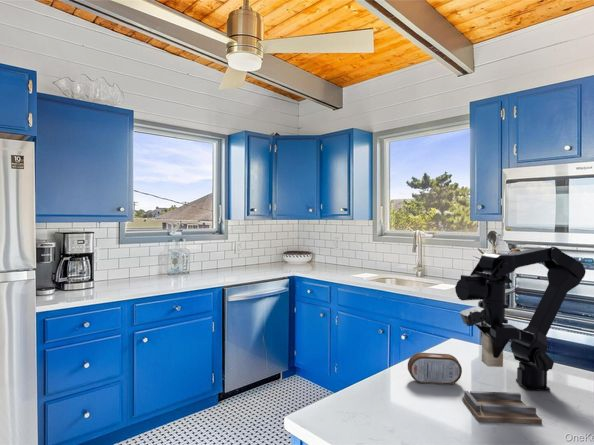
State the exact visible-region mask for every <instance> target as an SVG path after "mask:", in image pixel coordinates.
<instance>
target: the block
mask: <svg viewBox="0 0 594 445" xmlns="http://www.w3.org/2000/svg"><path fill="white" fill-rule="evenodd" d="M481 362H482V363H484V365H485V366H487V367H493V368H494V367H495V368H496V367H497V368H503V367H504V350H503V351H502V352H501V354H500V356H499V357H498V358H494V356H493V350H492V341H491V338H490V337H489V336H488V335H487V334H486V333H481Z"/></svg>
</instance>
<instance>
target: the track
mask: <svg viewBox="0 0 594 445" xmlns="http://www.w3.org/2000/svg"><path fill="white" fill-rule="evenodd" d="M469 391H470V392H469ZM461 400H462V402H463V403H464V405H465V406H466V407H467V409H468V410H469V411H470V412H471V413H472V415H473V416H474V417H475V419H476V420H477V421H478V422H485V423H486V422H488V423H510V424H512V423H514V424H537V425H538V424H539V425H542V423H543V420H542V418H541V417H540V416H538V414H537V407H536V406H535V405H527V404H526V403H524V401H523V400H522V394H521V393H520V392H512V391H511V392H510V391H509V392H508V391H507V392H506V391H505V392H503V391H482V390H481V391H478V390H477V391H476V390H474V391H473V390H464V391H463V396H462V397H461Z"/></svg>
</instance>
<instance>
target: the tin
mask: <svg viewBox="0 0 594 445" xmlns="http://www.w3.org/2000/svg"><path fill="white" fill-rule="evenodd" d="M407 371H408V373H409V374H410V377H411V378H412V379H413V380H414V381H416V382H418V383H419V384H430V385H431V384H434V385H453V384H455V383H458V381H460V379H461V377H462V374H463V372H462V371H463V368H462V366H461V363H460V361H459V360H458V359H457V358H456V357H455V356H454V355H452V354H449V353H435V352H433V353H432V352H418V353H415V354H413V355H411V356H410V358H409V359H408V362H407Z"/></svg>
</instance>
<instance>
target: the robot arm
mask: <svg viewBox="0 0 594 445" xmlns="http://www.w3.org/2000/svg"><path fill="white" fill-rule="evenodd" d="M540 263H542V264H543V266H544V267H545V268H546V269H547V273H546V275H547V282H548V284H547V286H546V289H545V290H544V292H543V295H542V297H541V299H540V300H539V302H538V304H537V307H536V308H535V310H534V313H533V315H532V317H531V319H530V321H529V323H528V325H527V326H526V327H525V328H523V329H521V328H518V327H516V326H514V325H512V324H508V323H509V319H507V318H506V315H505V314H506V309H509V304H507V303H506V284H512V283H513V279H511V278H510V277H509V276H508V275H509V274H511V273H513V272H514V271H516V269H518V268H522V267H527V266H531V265H535V264H540ZM585 275H586V268H585V267H584V264H583V263H582V262H581V261H579V260H577V259H575V258H574V257H572V256H571V255H569V254H567V253H565V252H563V251H562V250H561V249H560V248H559V247H556V246H549V245H540V246H539V247H535V248H529V249H524V250H523V249H522V250H519V251H514V252H510V253H502V252H500V253H497V252H494V253H493V252H489V253H488V252H486V253H483V254H482V255H480V258H479V261H477V264H476V265H475V267H474V268H473V269H472V272H471V273H470V274H469V275H465V274H462V275H460V279H459V280H458V281H457V282H456V285H455V286H454V287H455V291H454V292H455V294H456V297H457V298H458V299H459V300H460V301H478V303H477V305H478V306H474V307H473V306H472V307H470V308H466V309H464V310H460V312H459V314H460V317H461V321H462V323H463V324H465V325H466V326H467V327H472V326H475V327H476V328H477V329H478V330H479V331H480V333H481V334H482V333H486V334H487V335H488V336H489V337H490V338H491V341H492V350H493V356H494V358H498V357H499V356H500V354H501V352H502V351H503V352H504V349H505V347H506V345H507V344H508V342H510V341H511V342H510V346H509V347H510V349H511V353H512V354H513V358H514V360H515V361H517V362H518V367H517V371H516V374H517V375H516V378H515V381H516V382H517V383H518V384H519V385H520V386H521V387H523V388H524V389H525V390H527V391H551V388H550V387H549V386H548V372H549V370H552V369H553V368H554V363H555V362H554V360H553V359H552V358H551V356H549V355H548V354H547V351H548V348H549V345H548V338H547V335H548V333H549V330H550V329H551V327H552V325H553V323H554V321H555V319H556V317H557V314H558V312H559V311H560V309H561V307H562V304H563V302H564V300H565V299H566V296H567V295H568V293H569V292H570V291H571V290H573V289H574V288H576V287H577V286H579V284H580V283H581V282H582V280H583V279H584V277H585Z"/></svg>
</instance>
